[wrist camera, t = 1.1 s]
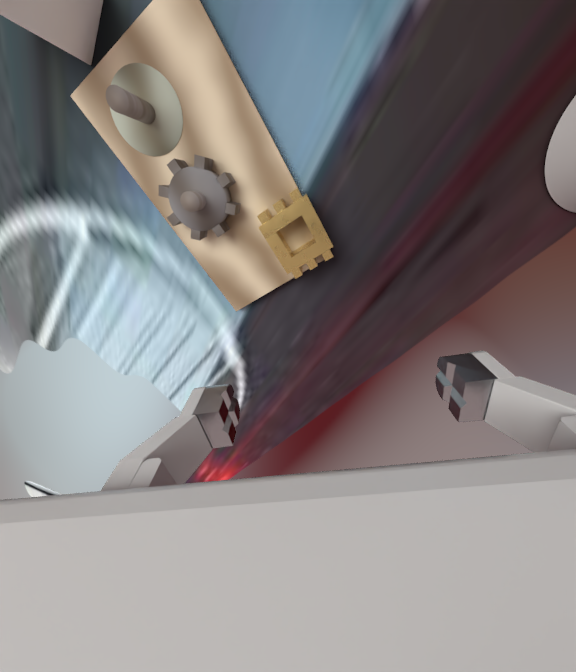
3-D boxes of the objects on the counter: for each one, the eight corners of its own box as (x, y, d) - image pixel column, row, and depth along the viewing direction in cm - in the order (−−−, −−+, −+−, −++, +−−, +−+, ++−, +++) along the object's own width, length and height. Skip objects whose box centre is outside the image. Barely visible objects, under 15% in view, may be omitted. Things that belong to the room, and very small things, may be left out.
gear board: (188, -22, 23) (152, -88, 17) (331, 252, 34) (337, 265, 28) (81, 100, 27) (24, 78, 22) (238, 307, 38) (227, 328, 33)
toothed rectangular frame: (301, 184, 29) (301, 184, 26) (334, 248, 32) (337, 254, 30) (256, 216, 31) (252, 219, 28) (292, 273, 34) (291, 281, 31)
